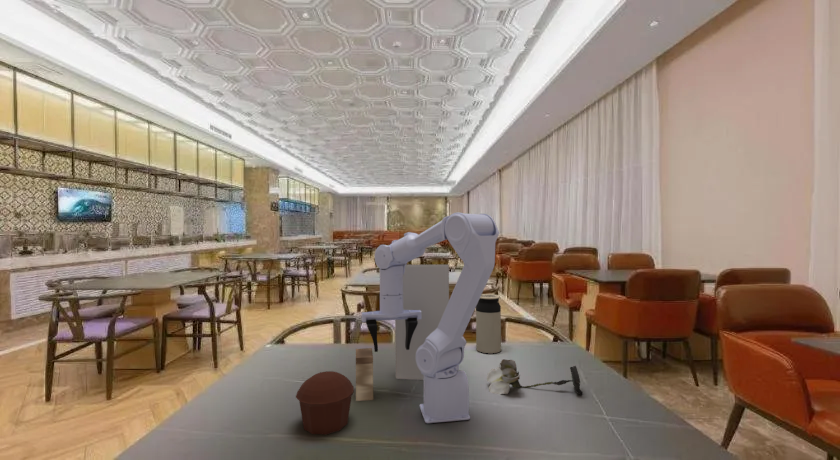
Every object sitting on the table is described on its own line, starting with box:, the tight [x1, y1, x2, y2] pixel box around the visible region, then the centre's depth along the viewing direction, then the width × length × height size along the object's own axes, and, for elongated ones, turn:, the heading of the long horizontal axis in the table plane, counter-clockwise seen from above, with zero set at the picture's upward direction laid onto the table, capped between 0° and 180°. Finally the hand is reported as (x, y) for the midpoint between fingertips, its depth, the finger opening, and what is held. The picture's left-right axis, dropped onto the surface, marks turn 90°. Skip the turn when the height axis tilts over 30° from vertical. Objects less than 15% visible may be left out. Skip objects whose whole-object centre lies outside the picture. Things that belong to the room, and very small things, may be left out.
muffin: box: [295, 370, 355, 435], centre depth 78 cm, size 12×11×10 cm
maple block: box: [355, 347, 374, 402], centre depth 92 cm, size 4×7×10 cm, turn 9°
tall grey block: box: [394, 264, 450, 381], centre depth 104 cm, size 14×6×30 cm, turn 84°
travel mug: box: [475, 293, 502, 355], centre depth 126 cm, size 8×8×18 cm
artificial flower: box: [486, 358, 583, 396], centre depth 93 cm, size 9×22×10 cm, turn 78°
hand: (391, 349), depth 93 cm, fingers open, 7 cm apart
